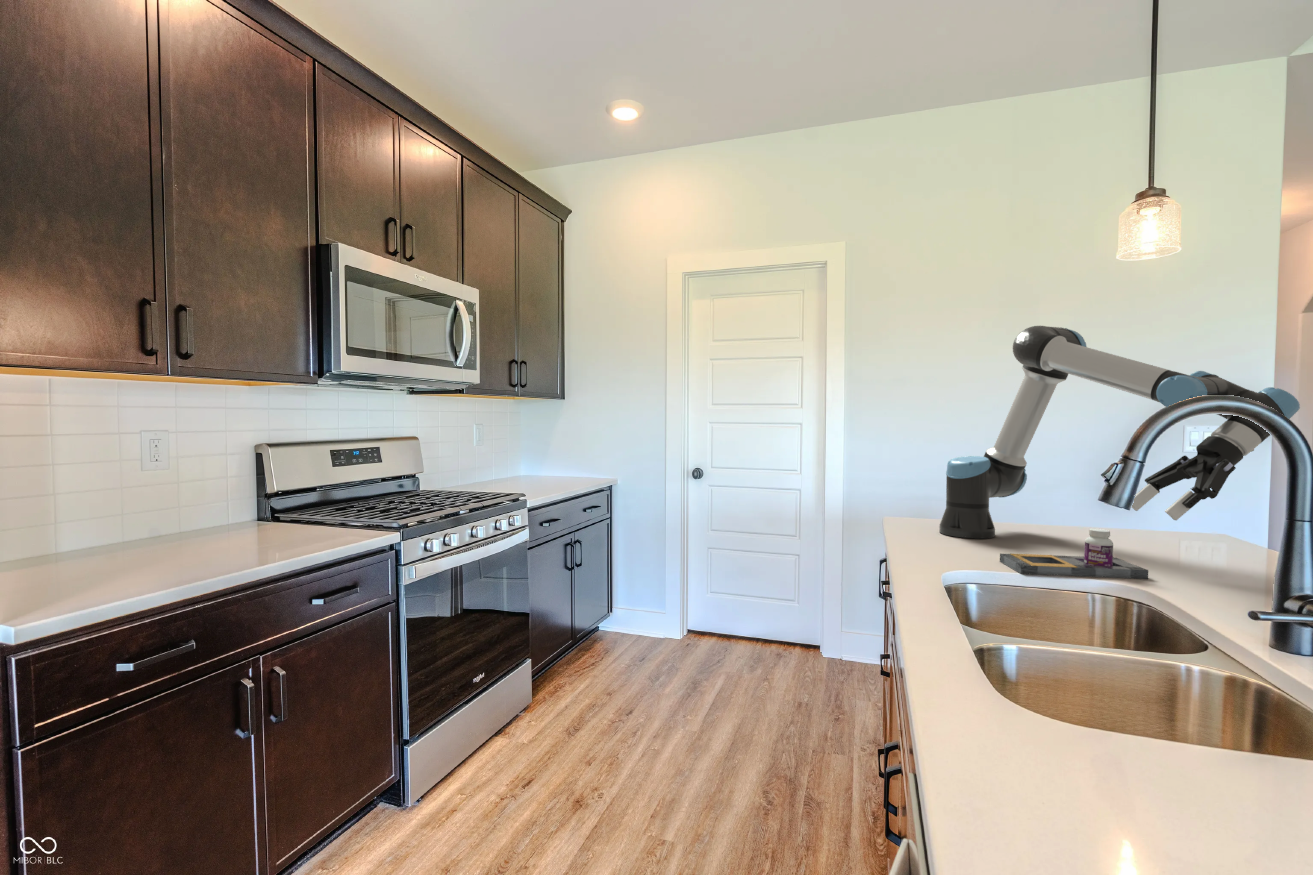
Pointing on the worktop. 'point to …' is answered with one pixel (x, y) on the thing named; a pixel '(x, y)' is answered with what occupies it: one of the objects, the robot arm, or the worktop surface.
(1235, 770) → the worktop surface
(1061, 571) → the rail plate
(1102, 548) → the pill bottle
